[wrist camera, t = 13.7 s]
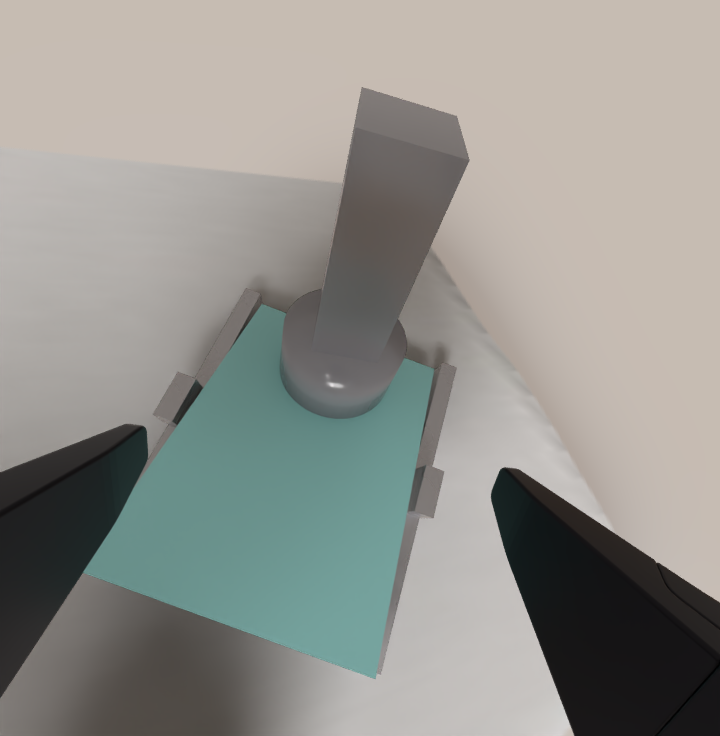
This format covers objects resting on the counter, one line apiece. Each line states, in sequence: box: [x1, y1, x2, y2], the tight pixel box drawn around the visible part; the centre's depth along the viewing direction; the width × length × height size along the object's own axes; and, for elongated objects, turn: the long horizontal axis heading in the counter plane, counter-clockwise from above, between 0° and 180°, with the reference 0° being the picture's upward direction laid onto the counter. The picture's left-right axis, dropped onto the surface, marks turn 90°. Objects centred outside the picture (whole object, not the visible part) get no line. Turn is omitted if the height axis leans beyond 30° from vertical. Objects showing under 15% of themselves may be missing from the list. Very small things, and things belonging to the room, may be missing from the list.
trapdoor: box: [83, 304, 434, 679], centre depth 20 cm, size 16×12×2 cm
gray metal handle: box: [279, 87, 469, 419], centre depth 17 cm, size 7×7×14 cm
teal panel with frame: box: [133, 288, 456, 675], centre depth 20 cm, size 17×15×4 cm
